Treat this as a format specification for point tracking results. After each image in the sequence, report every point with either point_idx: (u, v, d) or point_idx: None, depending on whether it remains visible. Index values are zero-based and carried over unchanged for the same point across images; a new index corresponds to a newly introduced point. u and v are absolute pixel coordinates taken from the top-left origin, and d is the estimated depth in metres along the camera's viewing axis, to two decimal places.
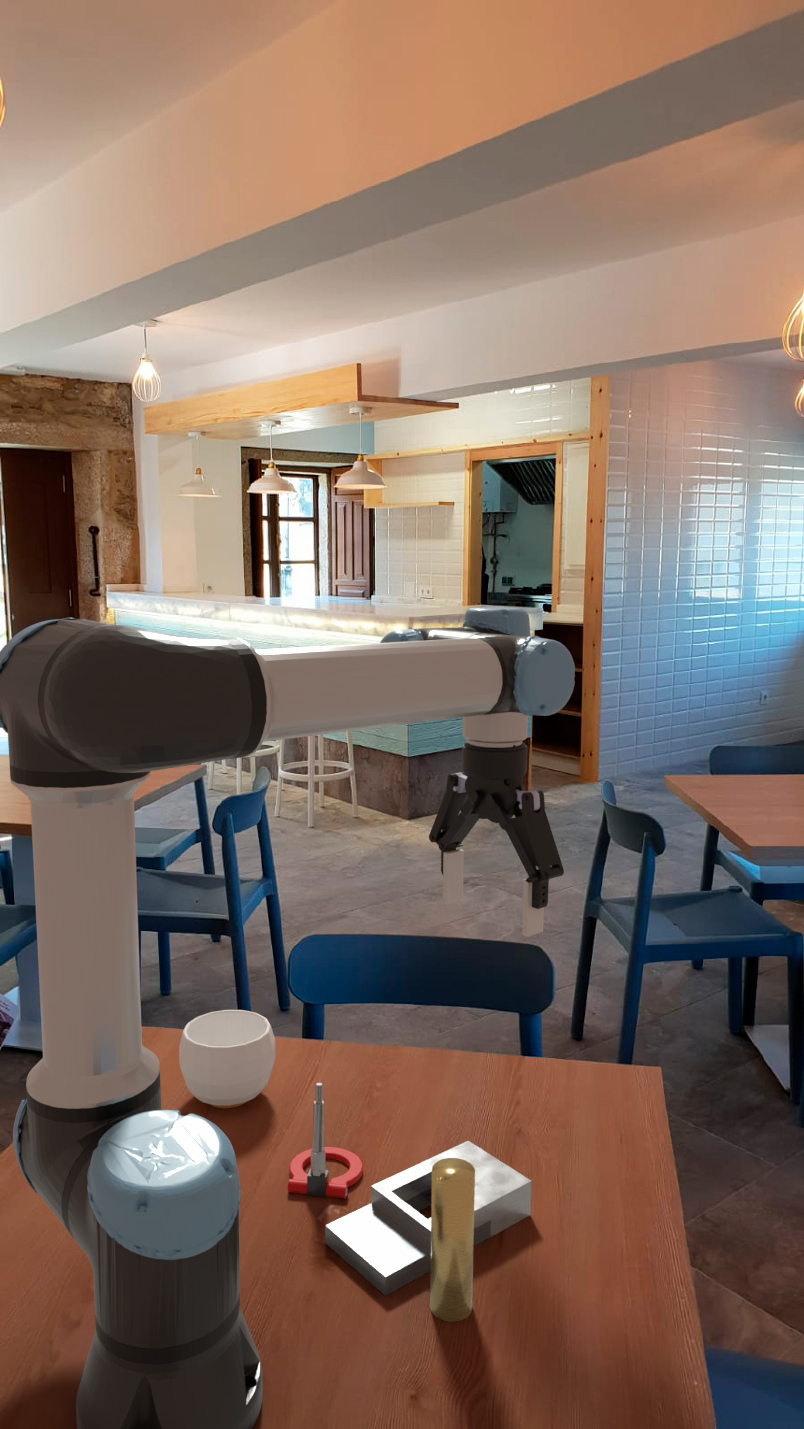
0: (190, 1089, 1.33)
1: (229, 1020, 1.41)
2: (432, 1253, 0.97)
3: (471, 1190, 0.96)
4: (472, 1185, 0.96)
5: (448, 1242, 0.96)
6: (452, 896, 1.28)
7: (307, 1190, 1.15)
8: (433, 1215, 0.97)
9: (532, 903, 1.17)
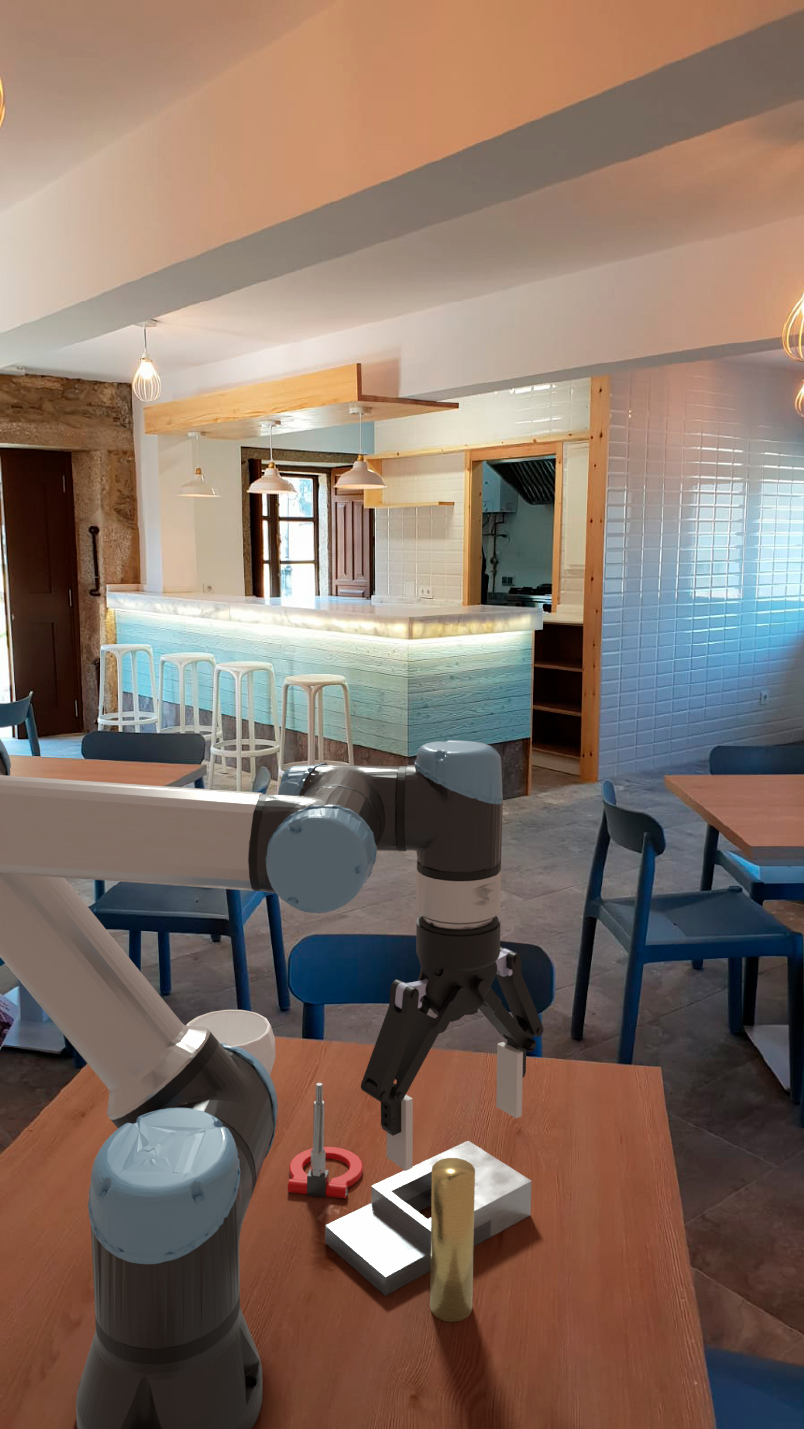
0: None
1: (229, 1020, 1.41)
2: (432, 1253, 0.97)
3: (471, 1190, 0.96)
4: (472, 1185, 0.96)
5: (448, 1242, 0.96)
6: (503, 1101, 1.00)
7: (307, 1190, 1.15)
8: (433, 1215, 0.97)
9: None
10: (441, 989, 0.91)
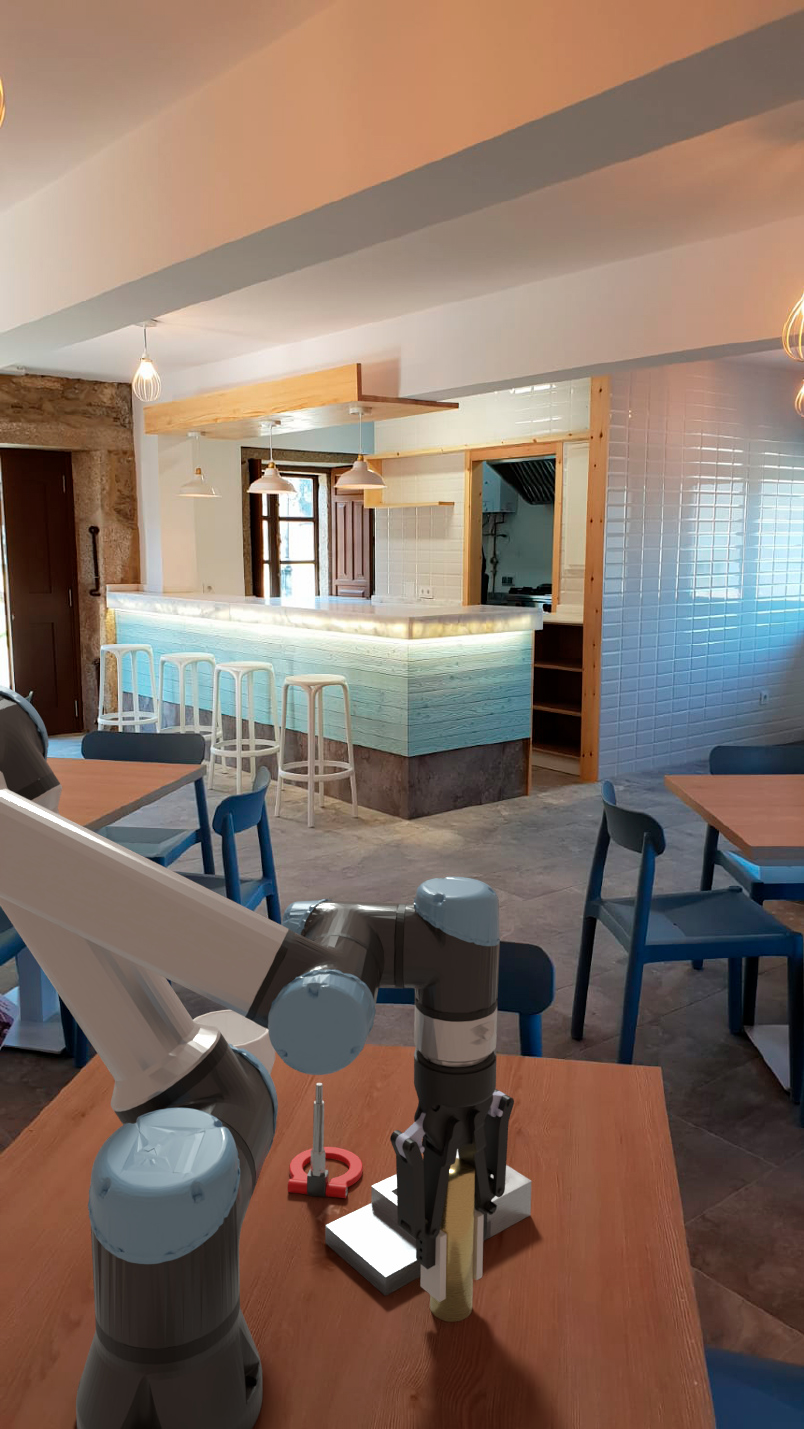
0: None
1: (229, 1020, 1.41)
2: None
3: (471, 1190, 0.96)
4: (472, 1185, 0.96)
5: (448, 1242, 0.96)
6: None
7: (307, 1190, 1.15)
8: None
9: None
10: (438, 1123, 0.93)
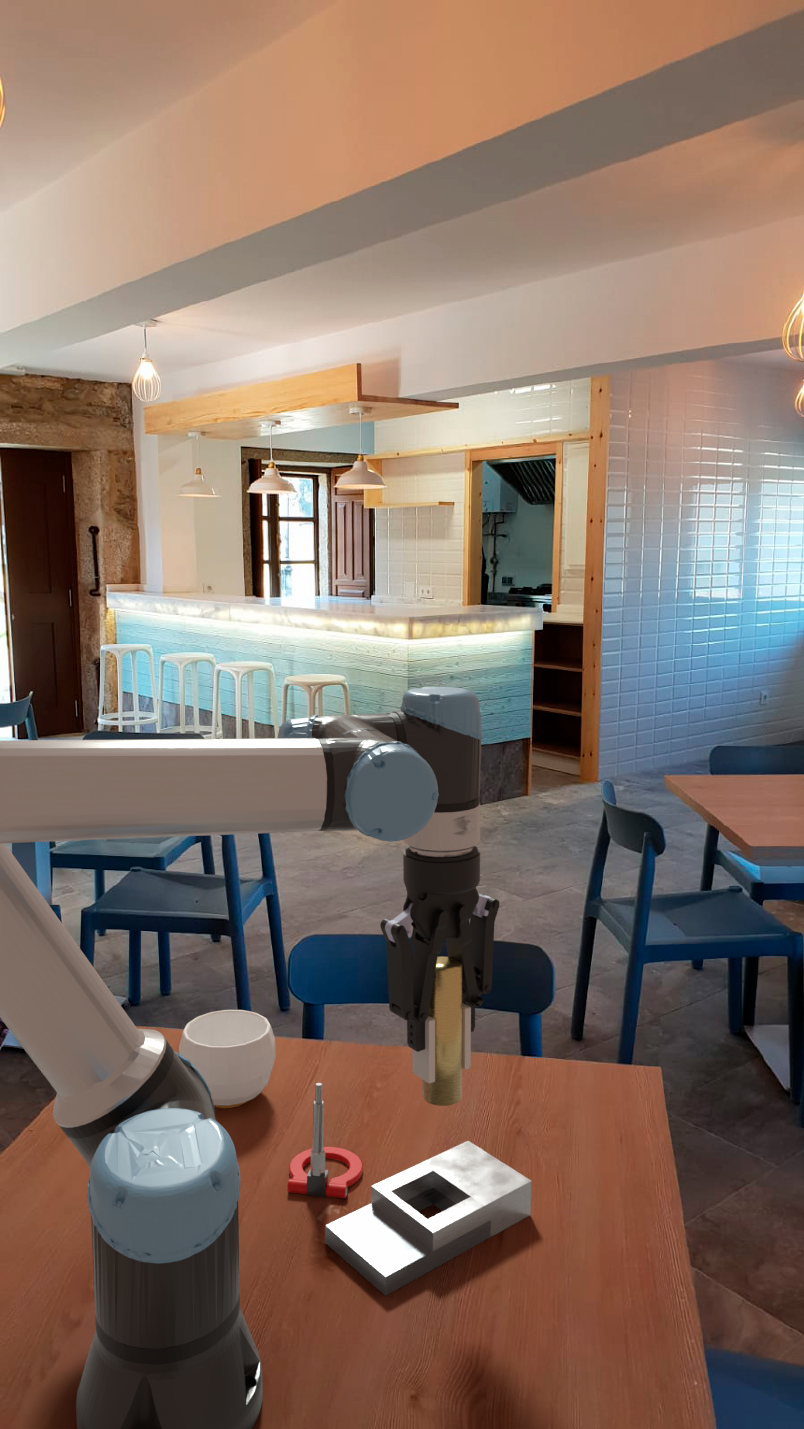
0: None
1: (229, 1020, 1.41)
2: None
3: (458, 981, 1.03)
4: (459, 976, 1.03)
5: (437, 1029, 1.03)
6: None
7: (307, 1190, 1.15)
8: None
9: None
10: (425, 911, 1.00)
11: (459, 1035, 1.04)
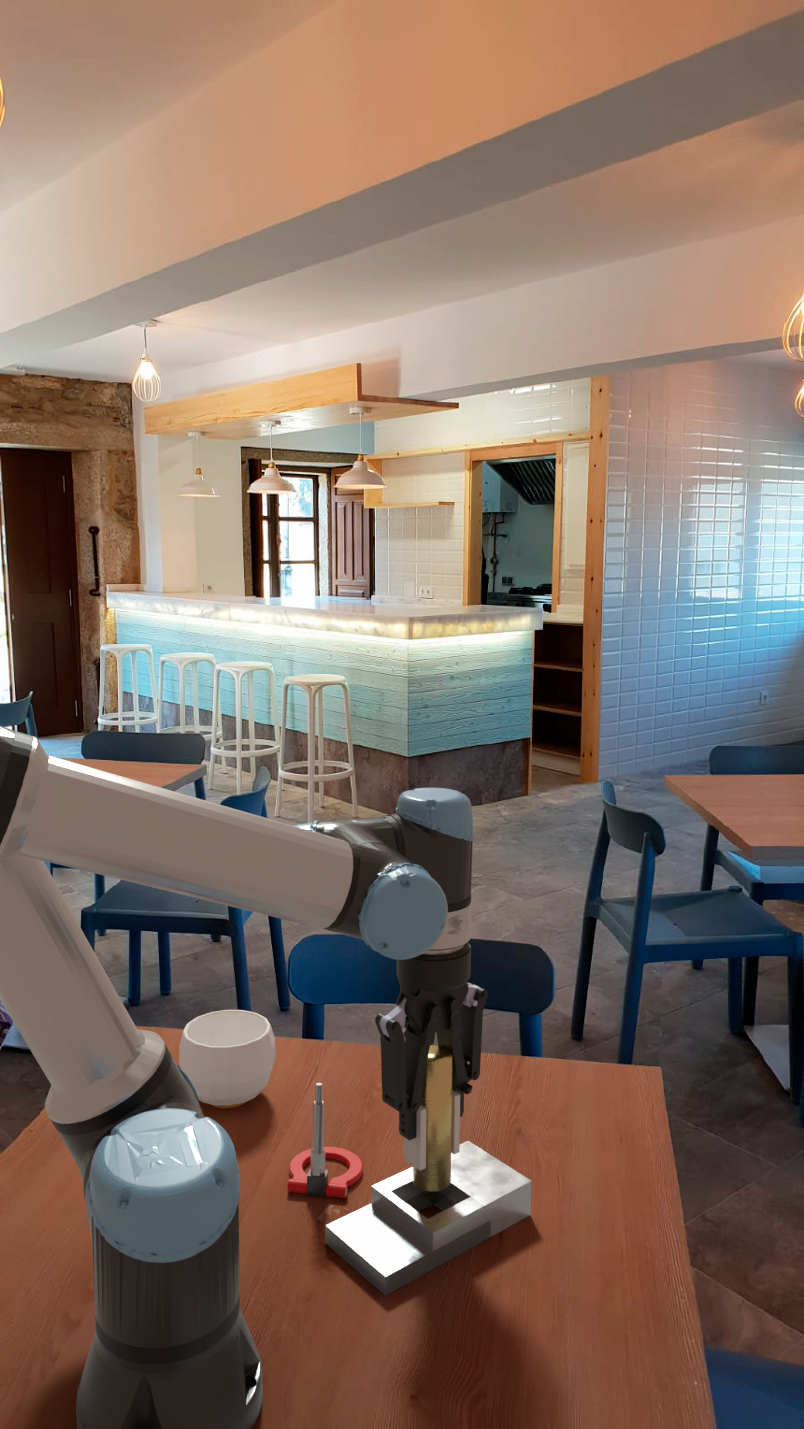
0: None
1: (229, 1020, 1.41)
2: None
3: (449, 1071, 1.06)
4: (450, 1067, 1.06)
5: (428, 1118, 1.06)
6: None
7: (307, 1190, 1.15)
8: None
9: None
10: (418, 1006, 1.04)
11: (449, 1123, 1.07)
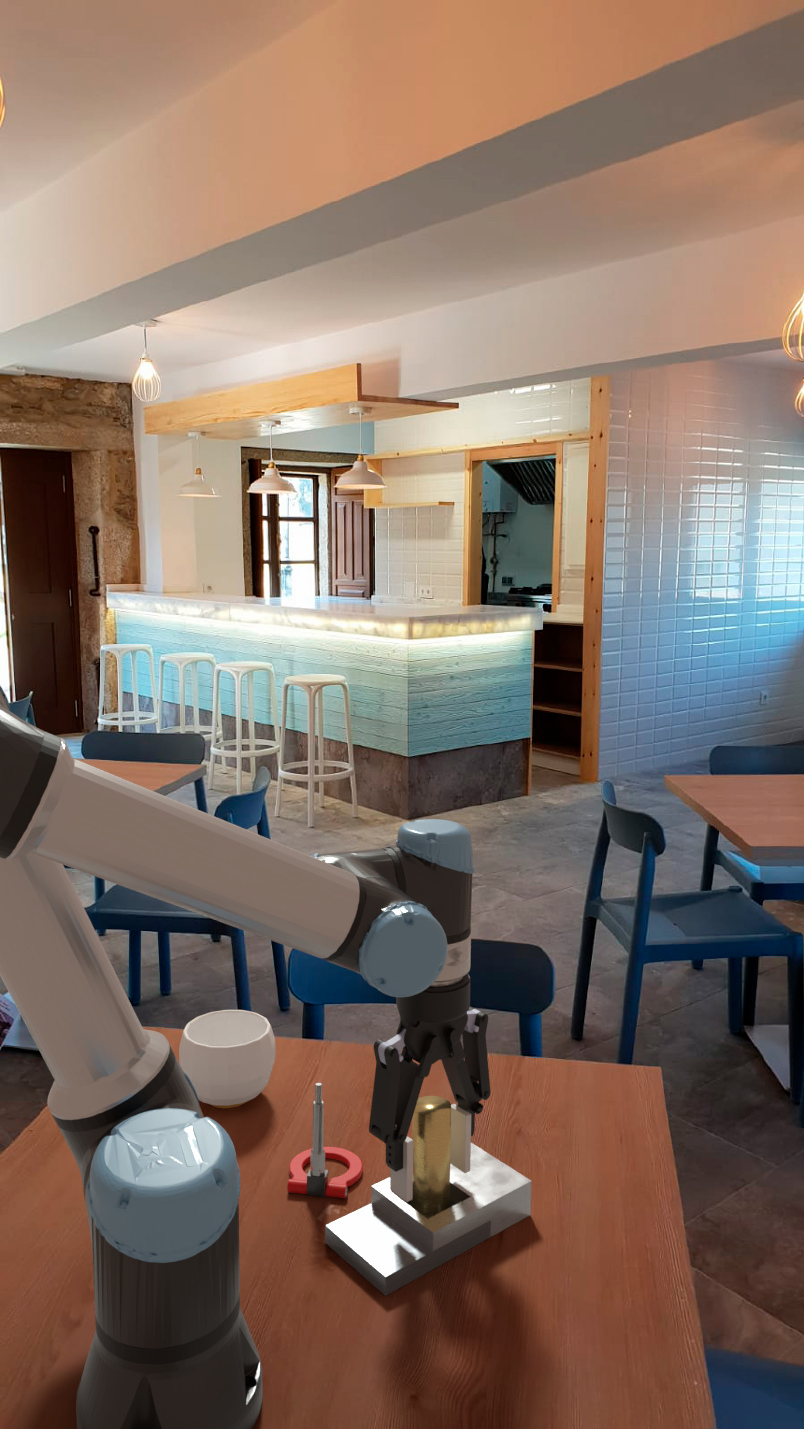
0: None
1: (229, 1020, 1.41)
2: (413, 1180, 1.09)
3: (447, 1123, 1.07)
4: (448, 1118, 1.07)
5: (427, 1170, 1.07)
6: (453, 1157, 1.12)
7: (307, 1190, 1.15)
8: (414, 1146, 1.08)
9: None
10: (417, 1038, 1.04)
11: (447, 1173, 1.08)
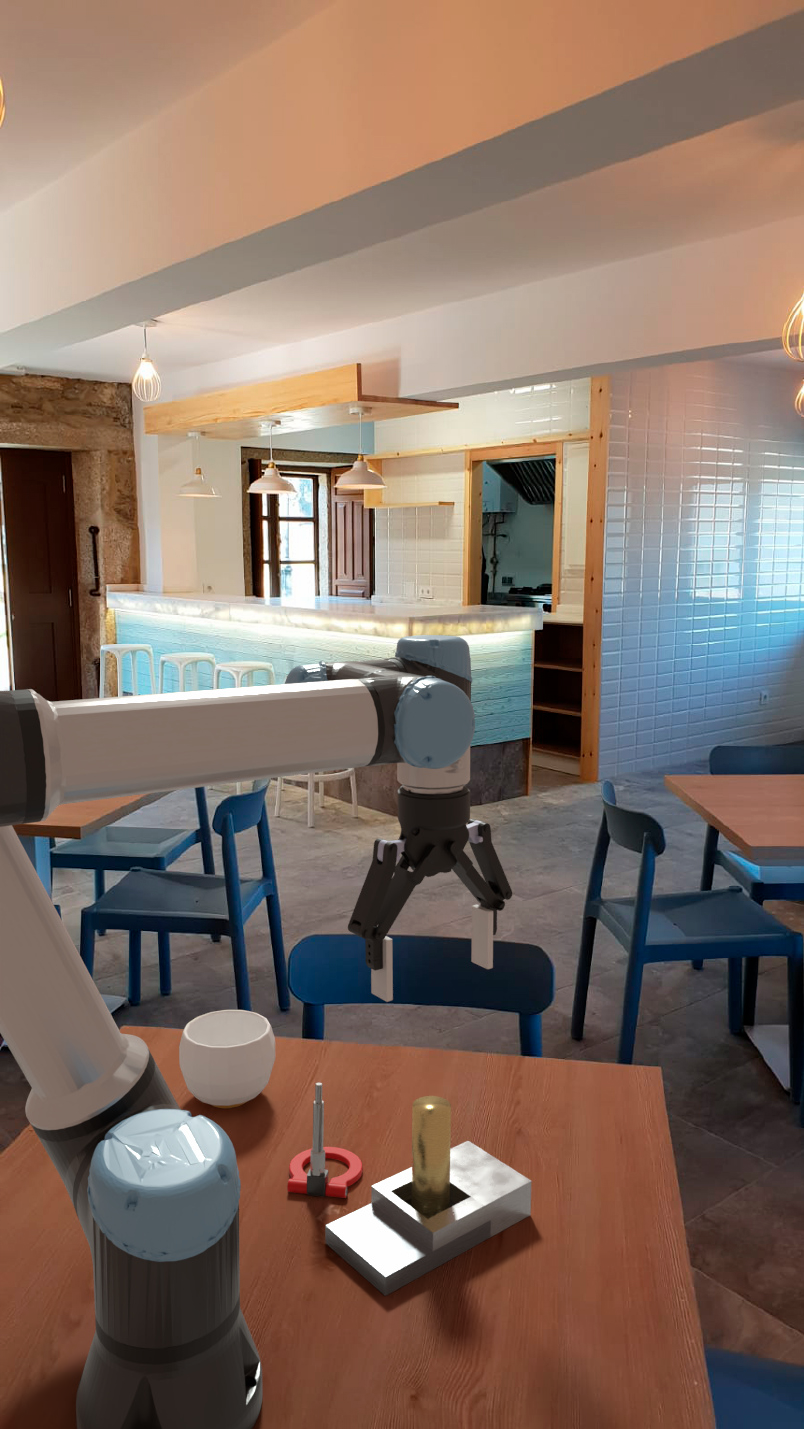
0: (190, 1089, 1.33)
1: (229, 1020, 1.41)
2: (413, 1180, 1.09)
3: (447, 1123, 1.07)
4: (448, 1118, 1.07)
5: (427, 1170, 1.07)
6: (476, 956, 1.15)
7: (307, 1190, 1.16)
8: (413, 1146, 1.08)
9: None
10: (417, 847, 1.06)
11: (447, 1173, 1.08)
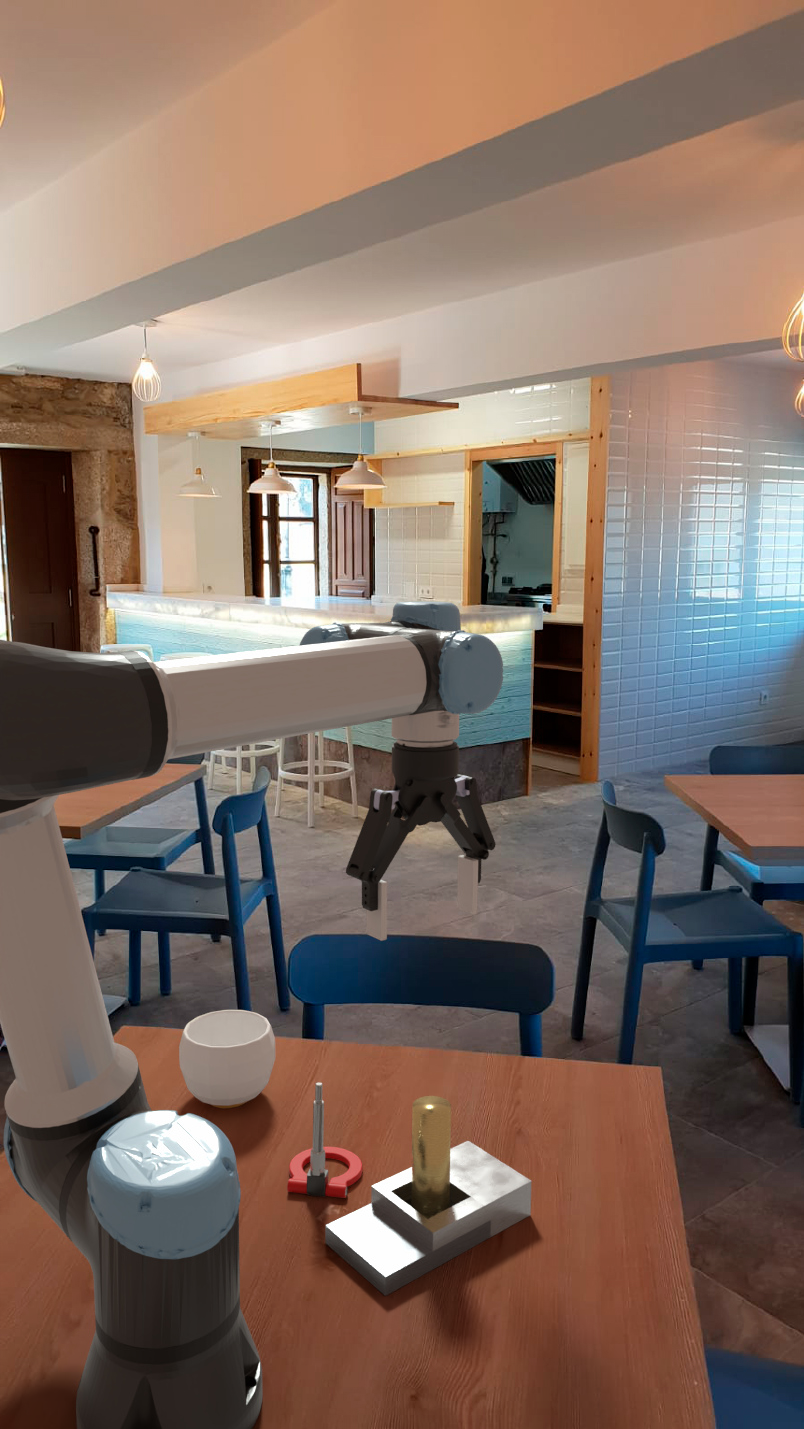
0: (190, 1089, 1.33)
1: (229, 1020, 1.41)
2: (413, 1180, 1.09)
3: (447, 1123, 1.07)
4: (448, 1118, 1.07)
5: (427, 1170, 1.07)
6: (462, 903, 1.24)
7: (307, 1190, 1.16)
8: (413, 1146, 1.08)
9: None
10: (410, 797, 1.14)
11: (447, 1173, 1.08)
